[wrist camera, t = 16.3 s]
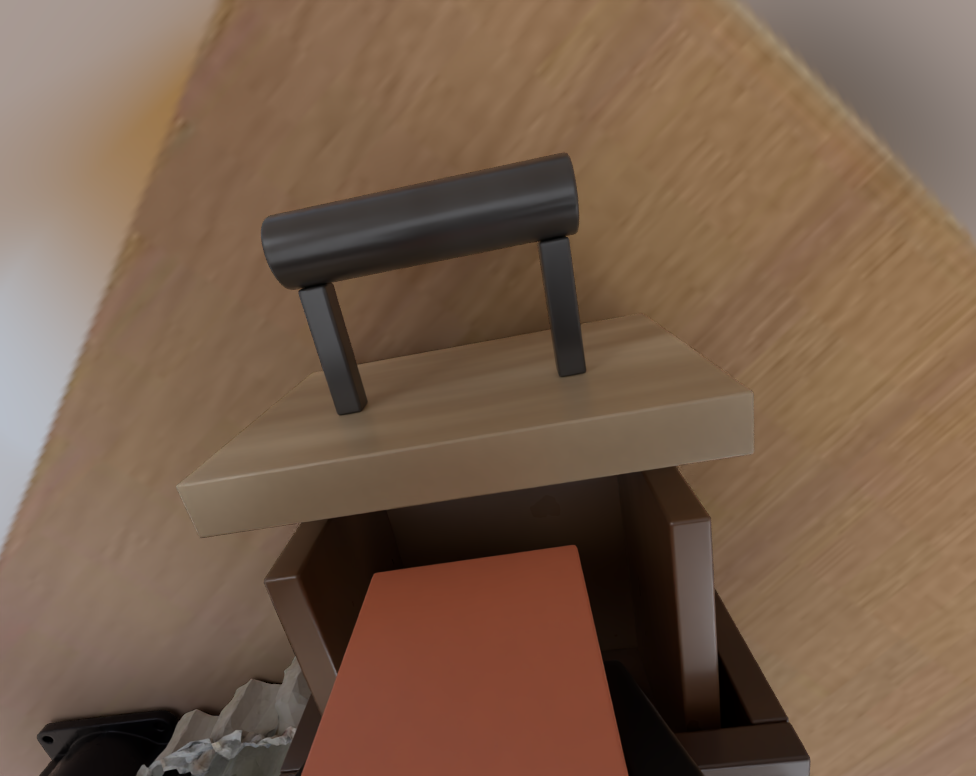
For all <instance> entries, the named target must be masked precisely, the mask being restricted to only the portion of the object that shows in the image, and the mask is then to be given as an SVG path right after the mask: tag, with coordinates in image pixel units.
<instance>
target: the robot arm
mask: <svg viewBox="0 0 976 776" xmlns="http://www.w3.org/2000/svg"><path fill="white" fill-rule="evenodd" d="M603 664H604V669H605V673H606V678H607V682H608V687H609V691H610V696H611V700H612V704H613V709H614V713H615V718H616V722H617V727H618V731H619V736H620V740H621V745H622V749H623V753H624V758H625V762H626V767H627V771H628V776H704V774H703V773H702V771H701V770H700V769H699V767H698V766H697V765H696V763H695V762H694V761H693V759H692V758H691V756H690V755H689V754H688V752H687V751H686V750H685V748H684V747H683V746H682V744H681V743H680V741H679V740H678V739H677V737H676V736H675V735H674V733H673V732H672V731H671V729H670V728H669V726H668V725H667V724H666V722H665V721H664V720H663V718H662V717H661V716H660V714H659V713H658V711H657V710H656V709H655V707H654V706H653V705H652V703H651V702H650V701H649V699H648V698H647V696H646V695H645V694H644V692H643V691H642V690H641V688H640V687H639V686H638V684H637V683H636V681H635V680H634V679H633V677H632V676H631V675H630V673H629V672H628V671H627V669H626V668H625V666H624V665H623V664H622V663H621V662H620V661H619V660H608V661H603ZM177 724H178V721H177V719H176V717H175V716H174V715H173V714H172V713H170V712H168V711H165V710H159V711H150V712H142V713H133V714H125V715H116V716H108V717H99V718H91V719H82V720H74V721H65V722H57V723H50V724H47V725H46V726H45V727H44V728H43V729H42V730H41V731H40V733H39V734H38V735H37V739H38V741H39V743H40V744H41V745H42V747H43V748H44V750H45V751H46V752H47V754H48V755H49V757H50V758H51V759H52V761H51V762H50V763H49V764H48V766H47V767H46V768H45V769H44V771H43V772H42V773H41V774H40V775H39V776H136V774H137V773H138V771H139V769H140V768H141V766H142V765H145V766H146V767H147V768H148V767H149V766H150V765H151V764H152V763H153V762H154V761H155V759H156V758H157V757H158V756H159V755H160V754H161V753H162V752H163V751H164V750H165V749H166V747H167V745H168V743H169V742H170V740H171V738H172V736H173V734H174V731H175V728H176V726H177ZM306 760H307V759H306ZM306 760H305V762H304V763H303V764H302V766H301V767H300V769H299V770H298V771H297V773H296V774H295V775H294V776H301V774H302V771H303V769H304V766H305V763H306ZM191 775H192V774H191V772H188V773H184V774H180V773H179V772H178V770H177V769H172V770H168V771H165V772H164V774H163V776H191Z"/></svg>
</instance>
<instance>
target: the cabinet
mask: <svg viewBox="0 0 976 776" xmlns="http://www.w3.org/2000/svg"><path fill="white" fill-rule="evenodd" d="M714 591H715V612H716V633H717V654H718V675H719V696H720V717H721V729H711V730H701V731H691V732H682V733H674V735H675V736H676V737H677V739H678V740H679V741H680V743H681V744H682V746H683V747H684V748H685V750H686V751H687V752H688V754H689V755H690V756H691V758H692V759H693V761H694V762H695V763H696V765H697V766H698V767H699V769H700V770H701V771H702V773H703V774H704V776H810V757H809V755H808V753H807V751H806V750H805V748H804V746H803V744H802V742H801V741H800V739H799V737H798V735H797V734H796V732H795V730H794V728H793V726H792V725H791V724H790V723H789V720H788V717H787V715H786V713H785V712H784V710H783V708H782V706H781V705H780V703H779V701H778V699H777V697H776V696H775V694H774V692H773V690H772V689H771V687H770V685H769V683H768V682H767V680H766V678H765V676H764V674H763V673H762V671H761V669H760V667H759V666H758V664H757V662H756V660H755V658H754V657H753V655H752V653H751V651H750V650H749V648H748V646H747V644H746V643H745V641H744V639H743V637H742V635H741V634H740V632H739V630H738V628H737V627H736V625H735V623H734V621H733V620H732V618H731V616H730V614H729V612H728V611H727V609H726V607H725V605H724V604H723V602H722V600H721V598H720V597H719V595H718V593H717V591H716V589H715V588H714ZM321 719H322V717H321V714H320V712H319V710H318V707H317V705H316V703H315V700H314V698H313V696H312V694H310V697H309V699H308V702H307V704H306V707H305V709H304V712H303V714H302V717H301V719H300V722H299V724H298V727H297V729H296V732H295V734H294V737H293V739H292V742H291V744H290V747H289V749H288V752H287V754H286V757H285V759H284V762H283V764H282V767H281V769H280V773H281V774H280V775H279V776H294V775H295V774H296V773H297V771H298V770H299V769H300V767H301V766H302V764H303V763H304V762H305V760H306V759H307V758H308V755H309V752H310V749H311V746H312V744H313V741H314V738H315V735H316V733H317V730H318V727H319V724H320V721H321Z"/></svg>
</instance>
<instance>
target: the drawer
mask: <svg viewBox="0 0 976 776" xmlns="http://www.w3.org/2000/svg"><path fill="white" fill-rule="evenodd" d="M578 228H579V203H578V194H577V186H576V180H575V174H574V169H573V165H572V162H571V159H570V157H569V155H568V153H565V152H563V153H559V154H554V155H549V156H545V157H540V158H535V159H531V160H526V161H521V162H517V163H512V164H507V165H503V166H498V167H493V168H489V169H484V170H480V171H475V172H470V173H466V174H461V175H456V176H452V177H447V178H442V179H438V180H433V181H428V182H424V183H419V184H414V185H410V186H405V187H400V188H396V189H391V190H387V191H382V192H377V193H373V194H368V195H363V196H359V197H354V198H349V199H345V200H340V201H335V202H331V203H326V204H321V205H317V206H312V207H307V208H303V209H298V210H294V211H289V212H284V213H280V214H275V215H270V216H268V217H267V218H266V219H265V220H264V221H263V224H262V228H261V239H262V246H263V250H264V254H265V257H266V260H267V262H268V265H269V267H270V269H271V271H272V273H273V274H274V276H275V277H276V279H277V280H278V281H279V283H280V284H281V285H283V286H284V287H285V288H287V289H290V290H296V289H301V288H303V289H301V290H299V297H300V300H301V303H302V306H303V309H304V312H305V315H306V318H307V322H308V325H309V328H310V331H311V334H312V337H313V340H314V343H315V346H316V350H317V353H318V356H319V359H320V362H321V365H322V368H323V371H320V372H314V373H311V374H310V375H309V376H308V377H306V378H305V379H304V380H303V381H302V382H300V383H299V384H298V385H297V386H296V387H294V388H293V389H292V390H291V391H290V392H288V393H287V394H286V395H285V396H284V397H282V398H281V399H280V400H279V401H278V402H276V403H275V404H274V405H273V406H272V407H270V408H269V409H268V410H267V411H266V412H264V413H263V414H262V415H261V416H260V417H258V418H257V419H256V420H255V421H254V422H252V423H251V424H250V425H249V426H248V427H246V428H245V429H244V430H243V431H242V432H240V433H239V434H238V435H237V436H236V437H234V438H233V439H232V440H231V441H230V442H228V443H227V444H226V445H225V446H223V447H222V448H221V449H220V450H219V451H217V452H216V453H215V454H214V455H213V456H211V457H210V458H209V459H208V460H207V461H205V462H204V463H203V464H202V465H201V466H199V467H198V468H197V469H196V470H195V471H193V472H192V473H191V474H190V475H189V476H187V477H186V478H185V479H184V480H183V481H181V482H180V483H179V484H178V485H177V486H176V488H177V491H178V493H179V495H180V497H181V499H182V501H183V503H184V506H185V508H186V510H187V512H188V514H189V516H190V518H191V521H192V523H193V525H194V527H195V529H196V531H197V533H198V536H199V537H200V538H205V537H211V536H218V535H225V534H231V533H238V532H244V531H251V530H257V529H264V528H271V527H277V526H284V525H290V524H297V523H301V524H300V526H299V527H298V529H297V530H296V532H295V533H294V535H293V536H292V538H291V539H290V541H289V542H288V544H287V545H286V547H285V548H284V550H283V552H282V553H281V555H280V556H279V558H278V559H277V561H276V562H275V564H274V565H273V567H272V568H271V570H270V571H269V573H268V574H267V576H266V578H265V579H264V584H265V587H266V589H267V591H268V594H269V596H270V598H271V601H272V603H273V605H274V608H275V610H276V612H277V614H278V617H279V619H280V621H281V624H282V626H283V628H284V631H285V633H286V635H287V638H288V640H289V642H290V645H291V647H292V649H293V652H294V654H295V656H296V659H297V661H298V663H299V666H300V668H301V670H302V673H303V675H304V677H305V680H306V682H307V684H308V687H309V689H310V691H311V694H312V696H313V698H314V700H315V703H316V705H317V707H318V710H319V712H320V714H321V717H322V716H323V713H324V710H325V707H326V705H327V702H328V699H329V696H330V694H331V691H332V688H333V685H334V682H335V680H336V677H337V674H338V671H339V669H340V666H341V663H342V660H343V657H344V655H345V652H346V649H347V646H348V644H349V641H350V638H351V635H352V632H353V630H354V627H355V624H356V621H357V618H358V616H359V613H360V610H361V607H362V605H363V602H364V599H365V596H366V593H367V591H368V588H369V585H370V582H371V580H372V577H373V574H375V573H377V572H385V571H392V570H399V569H406V568H413V567H420V566H427V565H434V564H441V563H448V562H455V561H462V560H469V559H476V558H483V557H490V556H497V555H504V554H511V553H518V552H525V551H532V550H539V549H546V548H553V547H560V546H568V545H576V547H577V549H578V553H579V558H580V562H581V567H582V571H583V575H584V580H585V584H586V589H587V593H588V598H589V602H590V607H591V611H592V615H593V620H594V624H595V629H596V633H597V638H598V642H599V647H600V651H601V656H602V660H603V661H608V660H619V661H620V662H621V663H622V664H623V665H624V666H625V668H626V669H627V671H628V672H629V673H630V675H631V676H632V677H633V679H634V680H635V681H636V683H637V684H638V686H639V687H640V688H641V690H642V691H643V692H644V694H645V695H646V696H647V698H648V699H649V701H650V702H651V703H652V705H653V706H654V707H655V709H656V710H657V711H658V713H659V714H660V716H661V717H662V718H663V720H664V721H665V722H666V724H667V725H668V726H669V728H670V729H671V731H672V732H673V733H682V732H691V731H701V730H711V729H721V717H720V696H719V675H718V654H717V633H716V612H715V591H714V570H713V549H712V528H711V517H710V516H709V514H708V513H707V511H706V510H705V508H704V507H703V506H702V504H701V503H700V501H699V500H698V498H697V497H696V495H695V494H694V492H693V491H692V489H691V488H690V487H689V485H688V484H687V482H686V481H685V479H684V478H683V476H682V475H681V473H680V472H679V470H678V469H677V467H676V466H678V465H685V464H691V463H698V462H705V461H711V460H718V459H724V458H731V457H737V456H744V455H751V454H753V453H754V394H753V391H752V390H750V389H749V388H747V387H746V386H745V385H743V384H742V383H740V382H739V381H738V380H736V379H735V378H733V377H732V376H731V375H729V374H728V373H726V372H725V371H724V370H722V369H721V368H719V367H718V366H717V365H715V364H714V363H712V362H711V361H709V360H708V359H707V358H705V357H704V356H702V355H701V354H700V353H698V352H697V351H695V350H694V349H693V348H691V347H690V346H688V345H687V344H686V343H684V342H683V341H681V340H680V339H679V338H677V337H676V336H674V335H673V334H672V333H670V332H669V331H667V330H666V329H665V328H663V327H662V326H660V325H659V324H658V323H656V322H655V321H653V320H652V319H651V318H649V317H648V316H646V315H645V314H643V313H639V314H633V315H628V316H622V317H617V318H611V319H606V320H600V321H595V322H589V323H584V324H580V317H579V310H578V302H577V294H576V287H575V279H574V272H573V264H572V257H571V249H570V241H569V238H568V237H566V236H568V235H573V234H576V233H577V232H578ZM537 241H538V243H537V246H538V252H539V259H540V265H541V272H542V278H543V285H544V291H545V298H546V304H547V311H548V317H549V324H550V330H545V331H540V332H534V333H529V334H523V335H518V336H512V337H507V338H501V339H496V340H490V341H485V342H479V343H474V344H468V345H463V346H457V347H452V348H446V349H441V350H435V351H430V352H424V353H419V354H413V355H408V356H402V357H397V358H391V359H386V360H380V361H375V362H369V363H364V364H358V365H357V363H356V359H355V356H354V353H353V349H352V346H351V343H350V339H349V336H348V332H347V329H346V326H345V322H344V319H343V316H342V312H341V309H340V305H339V302H338V299H337V295H336V292H335V289H334V285H333V284H332V283H331V282H337V281H342V280H347V279H352V278H357V277H362V276H367V275H372V274H377V273H382V272H387V271H392V270H397V269H402V268H407V267H412V266H417V265H422V264H427V263H432V262H437V261H442V260H447V259H452V258H457V257H462V256H467V255H472V254H477V253H482V252H487V251H492V250H497V249H502V248H507V247H512V246H517V245H522V244H527V243H532V242H537Z"/></svg>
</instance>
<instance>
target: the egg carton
mask: <svg viewBox="0 0 976 776" xmlns="http://www.w3.org/2000/svg"><path fill="white" fill-rule="evenodd" d="M284 673H285V675H284V679H283V683H282V684H269V683H265V682H261V681H258V680H255V679H250V681H249V682H248V683H246V684H245V685H243V686H241V687H239V688H238V689H237V690H236V693H235V695H234V697H233V699H232V700H231V701H230V702H229V703H228V704H227V705H226V707H225V708H224V709H223V710H222V711H221V713H220V716H211V715H209V714H207V713H204V712H202V711H200V710H197V709H195V710H194V711H191V712H188V713H186V714H184V716H183V717H182V718H181V720H180V721H179V722H178V724H177V726H176V728H175V731H174V734H173V736H172V738H171V740H170V742H169V743H168V745H167V747H166V749H165V750H164V751H163V752H162V753H161V754H160V755H159V756H158V757H157V758H156V759H155V761H154V762H153V763H152V764H151V765H150V766H149V767H148V768H147V767H146V766H145V765H142V766H141V768H140V769H139V771H138V773H137V774H136V776H163V774H164V772H165V771H168V770H172V769H177V770H178V772H179V773H180V774H184V773H188V772H191V774H192V775H191V776H279V775H280V774H281V773H280V769H281V767H282V764H283V762H284V759H285V757H286V754H287V752H288V749H289V747H290V744H291V742H292V739H293V737H294V734H295V732H296V729H297V727H298V724H299V722H300V719H301V717H302V714H303V712H304V709H305V707H306V704H307V702H308V699H309V697H310V694H311V691H310V689H309V687H308V684H307V682H306V680H305V677H304V675H303V673H302V670H301V668H300V666H299V663H298V661H297V659H296V656H295V657H294V659H293V661H292V664H291V665H290V666H289V667H288V668H287V669H286V670H285V671H284Z"/></svg>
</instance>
